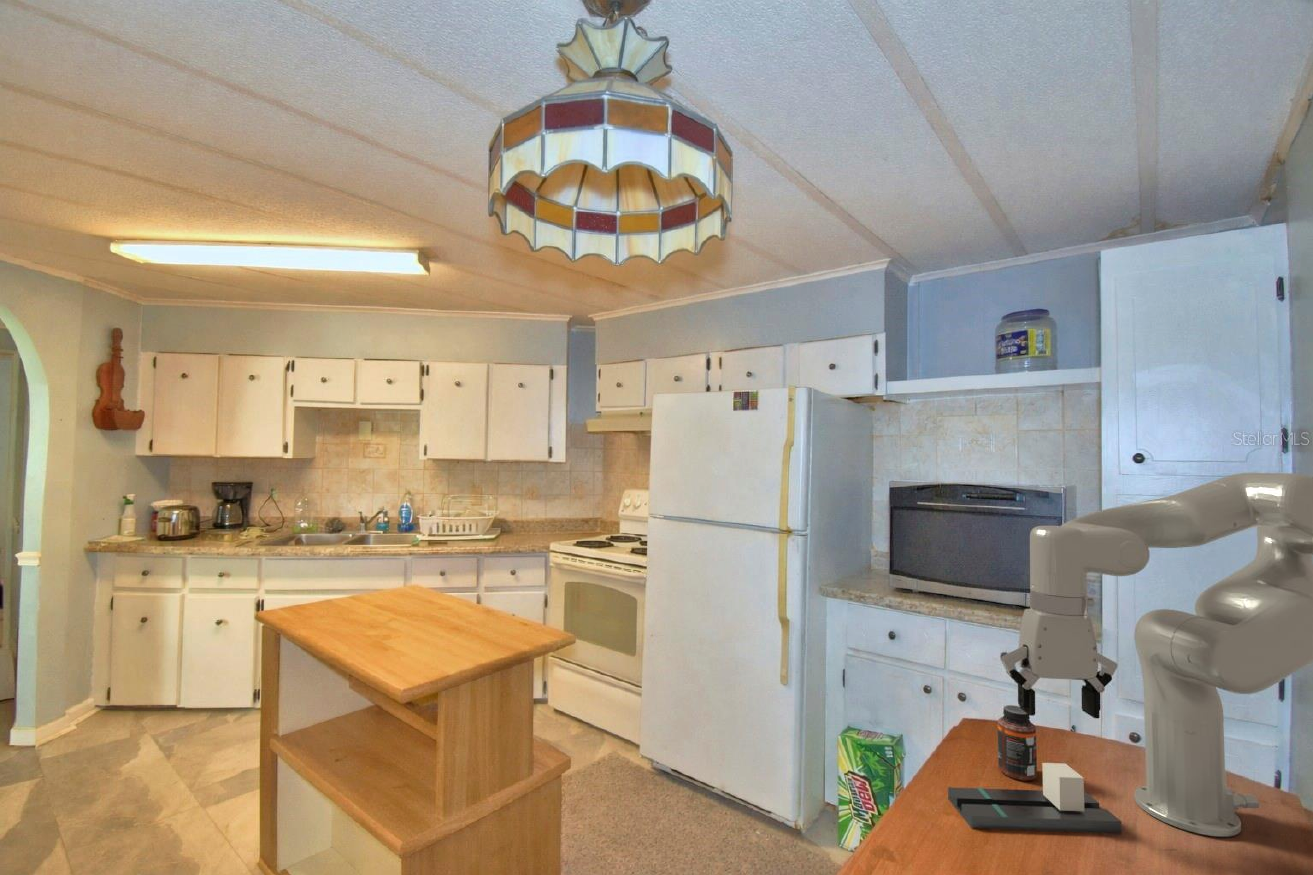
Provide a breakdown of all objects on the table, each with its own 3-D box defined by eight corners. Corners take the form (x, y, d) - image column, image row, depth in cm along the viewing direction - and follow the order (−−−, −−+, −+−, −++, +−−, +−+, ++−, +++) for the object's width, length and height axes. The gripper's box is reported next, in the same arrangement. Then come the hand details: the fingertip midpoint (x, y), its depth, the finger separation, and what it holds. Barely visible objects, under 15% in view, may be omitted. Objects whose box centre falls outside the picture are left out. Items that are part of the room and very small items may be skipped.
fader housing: (1085, 803, 97) (1085, 791, 97) (1121, 833, 89) (1121, 820, 89) (948, 798, 98) (948, 786, 98) (971, 827, 90) (971, 815, 90)
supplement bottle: (1043, 784, 103) (1041, 717, 103) (1005, 780, 104) (1004, 714, 104) (1029, 767, 109) (1027, 704, 109) (993, 763, 110) (992, 701, 110)
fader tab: (1066, 802, 96) (1065, 763, 96) (1084, 819, 91) (1083, 777, 91) (1043, 802, 96) (1042, 762, 96) (1060, 818, 91) (1059, 777, 92)
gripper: (1097, 600, 98) (1099, 706, 97) (990, 597, 99) (990, 701, 98) (1131, 611, 91) (1133, 726, 90) (1015, 608, 92) (1015, 721, 91)
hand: (1058, 713), depth 94 cm, fingers open, 9 cm apart
